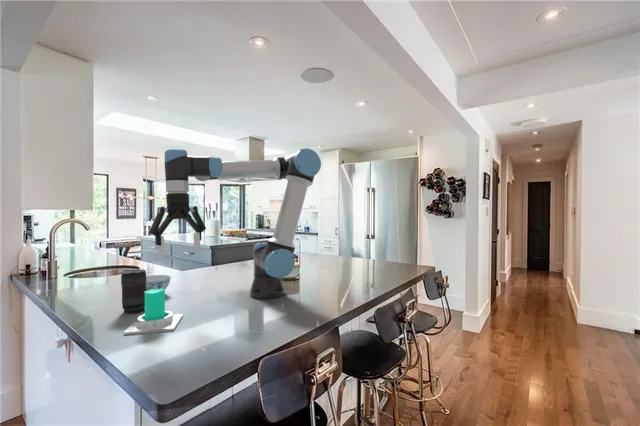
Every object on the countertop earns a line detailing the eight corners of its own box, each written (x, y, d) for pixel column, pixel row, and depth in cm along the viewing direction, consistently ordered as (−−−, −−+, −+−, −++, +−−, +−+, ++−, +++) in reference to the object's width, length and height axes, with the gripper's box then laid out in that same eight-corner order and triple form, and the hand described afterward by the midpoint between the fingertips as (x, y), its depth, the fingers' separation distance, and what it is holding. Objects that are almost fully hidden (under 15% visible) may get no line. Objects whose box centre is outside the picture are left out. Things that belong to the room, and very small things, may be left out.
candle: (169, 320, 105) (169, 284, 105) (155, 326, 99) (155, 288, 99) (154, 318, 107) (154, 283, 107) (140, 324, 101) (139, 287, 101)
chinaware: (148, 290, 149) (148, 274, 149) (177, 291, 147) (177, 275, 147) (124, 299, 134) (124, 281, 134) (156, 300, 132) (156, 282, 132)
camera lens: (123, 309, 120) (123, 270, 120) (147, 306, 123) (147, 268, 123) (119, 315, 113) (119, 273, 113) (145, 312, 116) (145, 272, 116)
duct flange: (182, 316, 112) (182, 307, 112) (173, 330, 98) (173, 321, 98) (139, 319, 108) (139, 310, 108) (123, 334, 95) (123, 324, 95)
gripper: (202, 194, 126) (204, 247, 126) (136, 193, 105) (138, 256, 106) (213, 193, 121) (216, 248, 121) (147, 191, 101) (150, 258, 101)
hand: (180, 252), depth 114 cm, fingers open, 13 cm apart
